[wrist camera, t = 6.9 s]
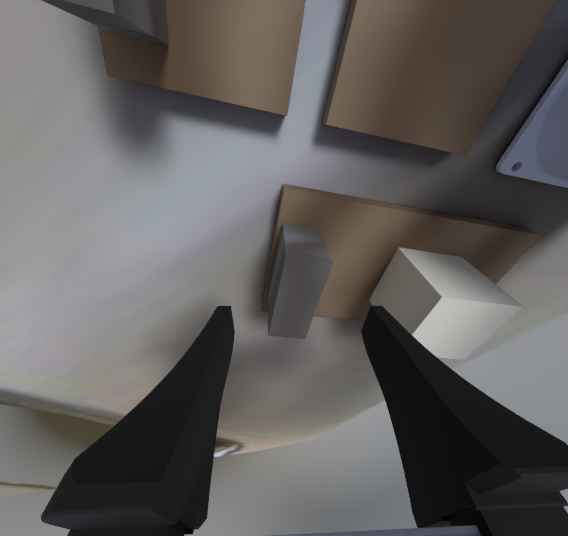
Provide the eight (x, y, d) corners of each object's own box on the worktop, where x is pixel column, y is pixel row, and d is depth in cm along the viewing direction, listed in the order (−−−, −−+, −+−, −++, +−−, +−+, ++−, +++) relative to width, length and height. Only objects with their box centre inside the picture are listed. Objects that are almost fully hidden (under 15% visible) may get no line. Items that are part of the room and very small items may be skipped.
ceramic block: (461, 256, 16) (523, 307, 12) (424, 305, 19) (464, 359, 15) (398, 247, 16) (442, 297, 12) (369, 299, 18) (396, 354, 14)
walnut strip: (525, 227, 16) (612, 269, 12) (444, 319, 22) (485, 369, 18) (283, 184, 14) (287, 218, 10) (262, 300, 20) (259, 353, 15)
